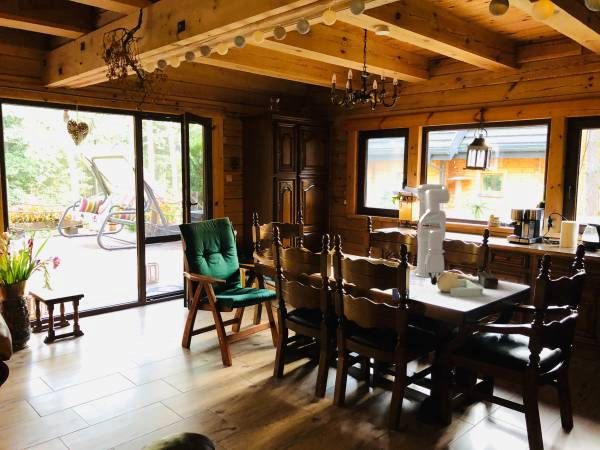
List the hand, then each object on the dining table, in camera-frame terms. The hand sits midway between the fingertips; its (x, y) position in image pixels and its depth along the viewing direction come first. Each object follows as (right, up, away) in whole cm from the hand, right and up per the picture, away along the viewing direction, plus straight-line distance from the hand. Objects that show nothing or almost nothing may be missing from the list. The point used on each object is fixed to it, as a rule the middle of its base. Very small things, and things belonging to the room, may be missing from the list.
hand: (433, 284), depth 273 cm
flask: (-22, -6, -17) cm, 29 cm away
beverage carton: (+36, -3, +16) cm, 40 cm away
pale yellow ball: (+8, -4, +1) cm, 9 cm away
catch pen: (+14, -4, +1) cm, 15 cm away
